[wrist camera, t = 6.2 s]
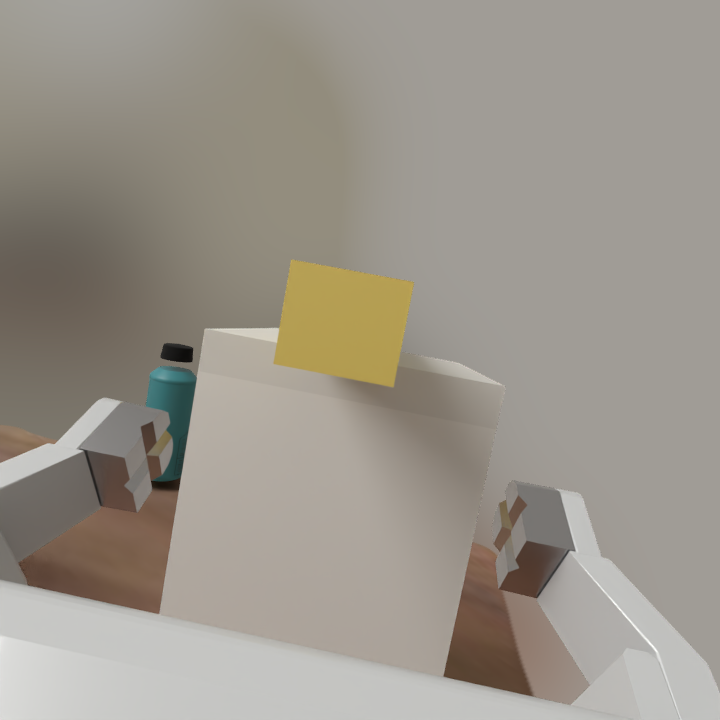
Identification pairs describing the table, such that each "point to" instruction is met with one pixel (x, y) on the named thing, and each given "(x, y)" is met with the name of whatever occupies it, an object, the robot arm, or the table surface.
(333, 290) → the mustard bar
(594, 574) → the robot arm
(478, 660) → the table surface
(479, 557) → the table surface
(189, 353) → the beverage bottle
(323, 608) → the off-white stand
